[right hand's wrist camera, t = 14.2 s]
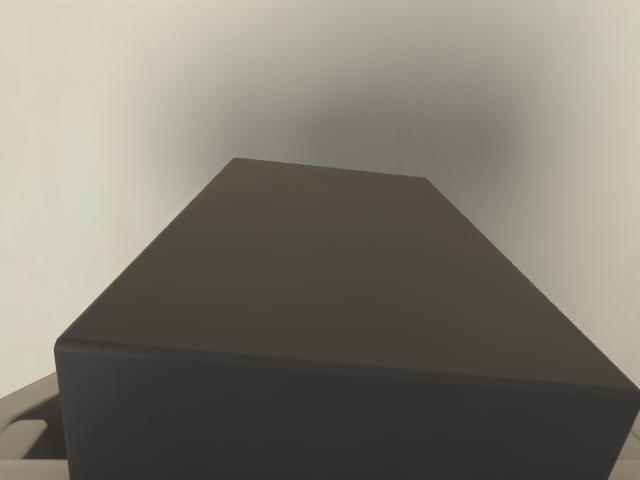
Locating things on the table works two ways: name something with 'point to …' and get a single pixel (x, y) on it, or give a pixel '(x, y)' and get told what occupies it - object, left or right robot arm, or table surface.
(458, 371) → the block
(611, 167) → the table surface
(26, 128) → the table surface
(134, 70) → the table surface
